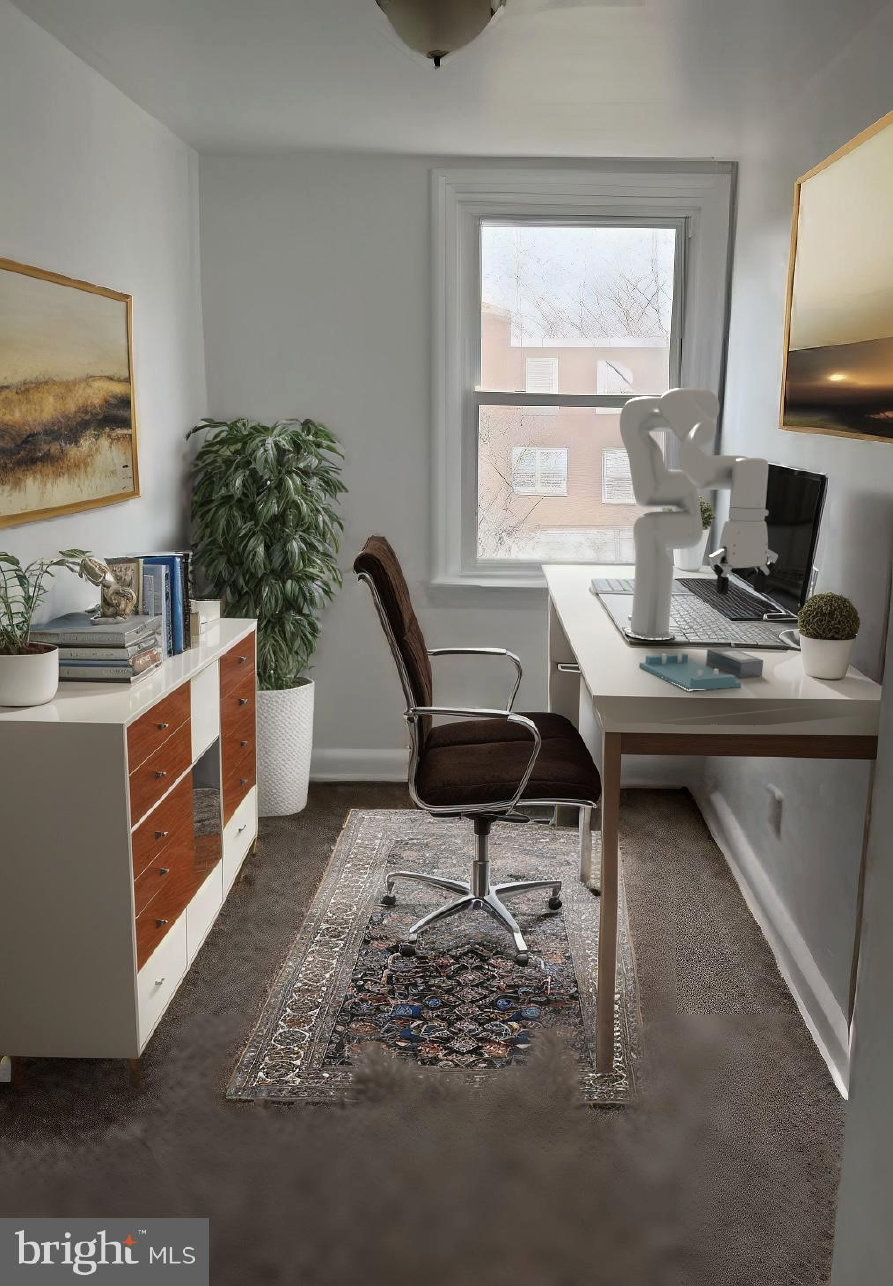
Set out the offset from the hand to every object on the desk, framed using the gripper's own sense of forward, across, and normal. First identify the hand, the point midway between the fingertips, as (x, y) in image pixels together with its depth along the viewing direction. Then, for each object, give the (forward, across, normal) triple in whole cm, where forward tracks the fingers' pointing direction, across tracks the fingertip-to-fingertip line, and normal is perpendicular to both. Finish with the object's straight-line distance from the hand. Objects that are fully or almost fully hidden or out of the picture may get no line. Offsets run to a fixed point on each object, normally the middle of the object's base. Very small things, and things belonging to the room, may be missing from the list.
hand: (740, 593), depth 230 cm
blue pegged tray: (+18, +13, +1) cm, 22 cm away
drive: (+18, 0, -1) cm, 18 cm away
